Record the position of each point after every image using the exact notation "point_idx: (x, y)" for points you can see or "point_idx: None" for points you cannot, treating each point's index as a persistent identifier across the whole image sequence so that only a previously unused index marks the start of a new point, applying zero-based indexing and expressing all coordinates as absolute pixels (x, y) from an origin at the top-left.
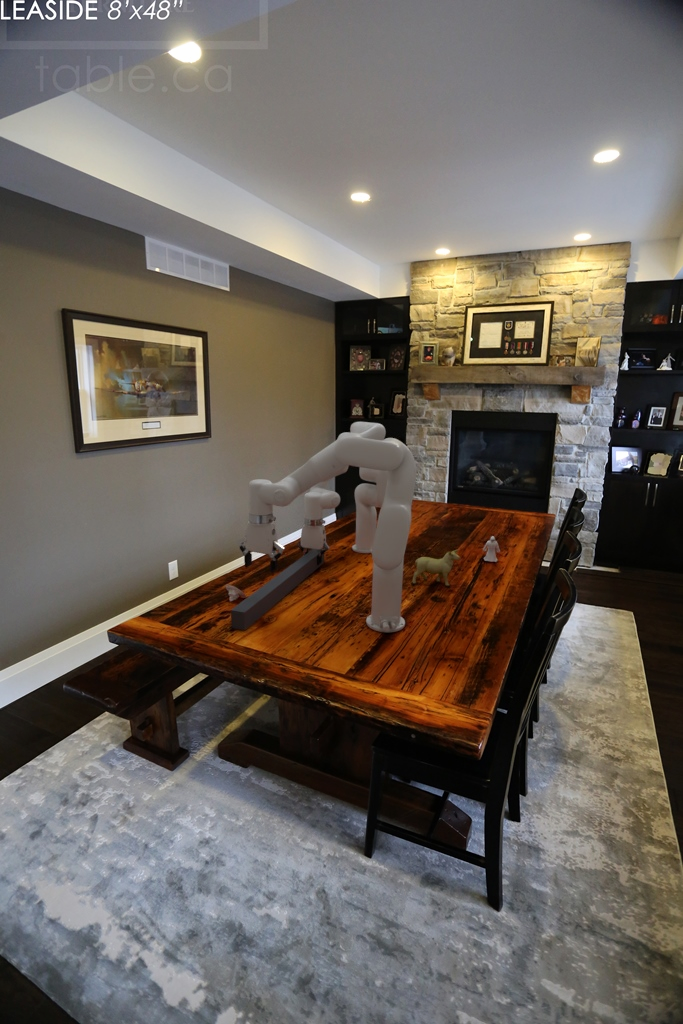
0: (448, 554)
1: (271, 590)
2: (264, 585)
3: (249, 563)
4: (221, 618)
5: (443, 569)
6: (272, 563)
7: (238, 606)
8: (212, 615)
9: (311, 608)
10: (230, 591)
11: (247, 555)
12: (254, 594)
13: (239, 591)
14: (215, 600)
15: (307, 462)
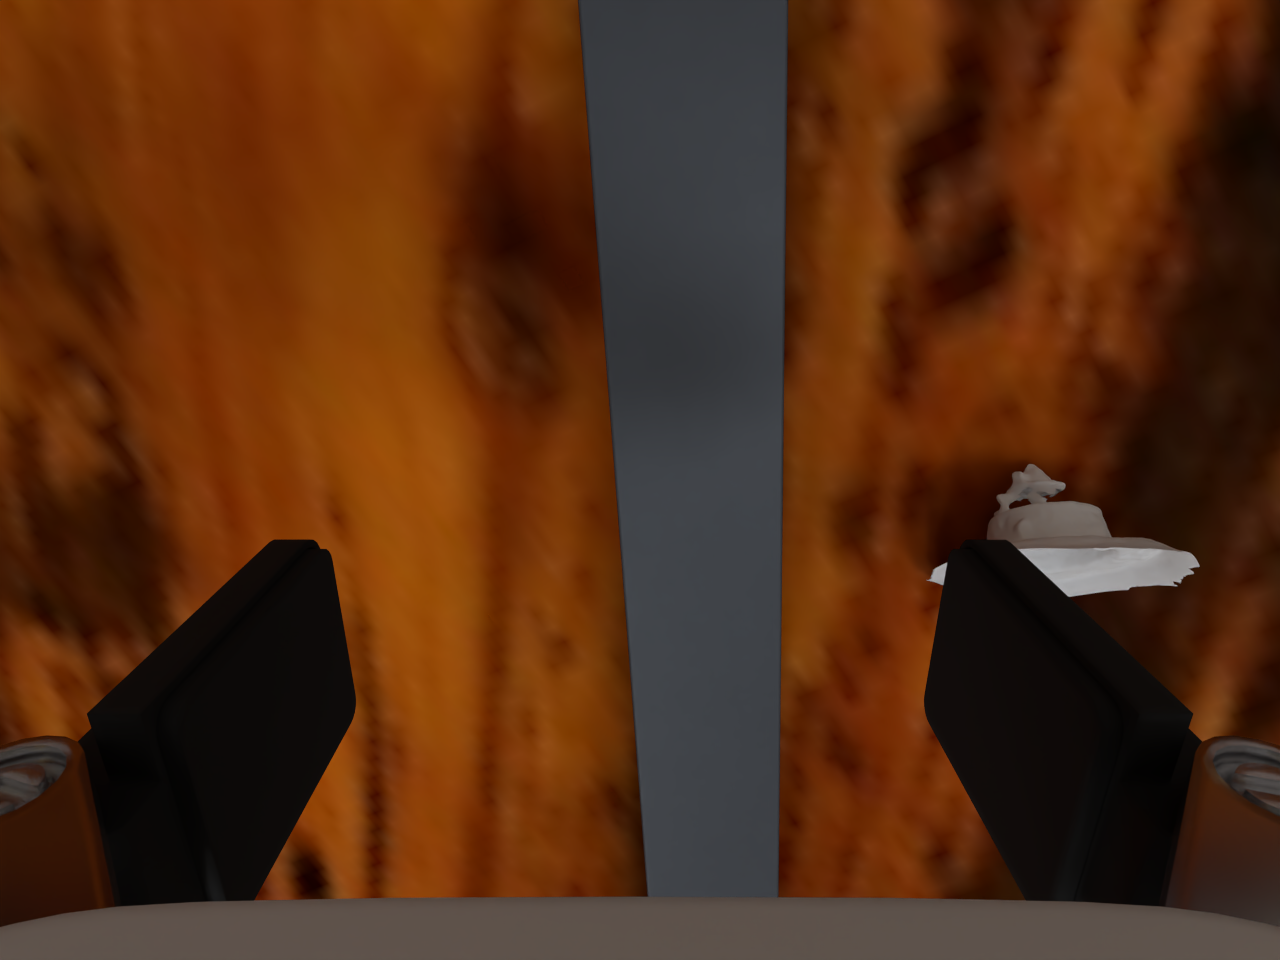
0: None
1: (634, 625)
2: (771, 695)
3: (957, 668)
4: (951, 125)
5: None
6: (152, 679)
7: (749, 53)
8: (1071, 145)
9: None
10: (1092, 527)
11: (1114, 780)
12: (751, 461)
13: None
14: (1183, 442)
15: None
